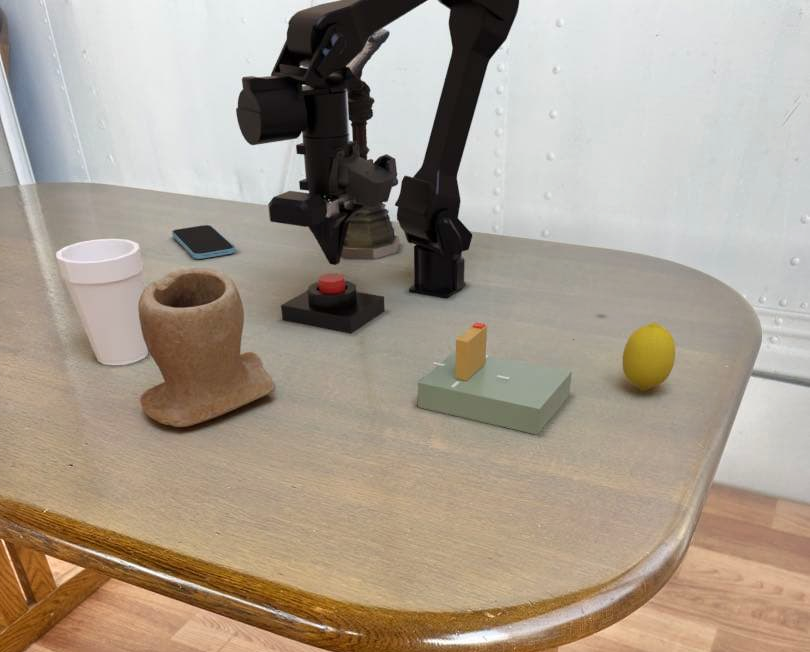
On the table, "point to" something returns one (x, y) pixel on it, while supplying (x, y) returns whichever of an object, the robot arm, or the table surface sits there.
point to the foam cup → (107, 296)
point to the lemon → (648, 356)
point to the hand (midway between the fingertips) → (334, 263)
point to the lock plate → (497, 393)
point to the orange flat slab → (470, 351)
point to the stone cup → (198, 348)
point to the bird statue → (370, 225)
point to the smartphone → (203, 241)
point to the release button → (331, 283)
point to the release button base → (333, 308)
